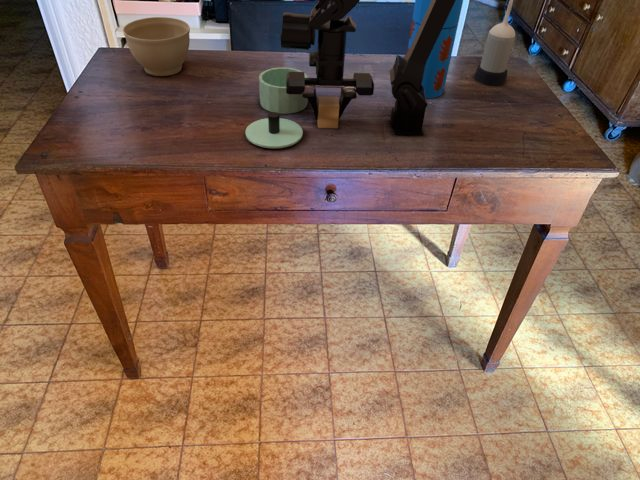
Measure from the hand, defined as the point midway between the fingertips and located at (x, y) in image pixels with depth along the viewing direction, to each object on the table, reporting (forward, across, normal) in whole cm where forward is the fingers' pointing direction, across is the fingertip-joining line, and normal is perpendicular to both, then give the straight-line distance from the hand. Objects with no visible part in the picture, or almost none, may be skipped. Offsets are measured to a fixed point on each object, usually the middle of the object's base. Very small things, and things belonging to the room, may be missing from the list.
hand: (327, 119), depth 114 cm
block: (+1, 0, 0) cm, 1 cm away
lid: (0, +12, +6) cm, 13 cm away
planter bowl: (+1, +42, -28) cm, 50 cm away
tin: (+1, +10, -10) cm, 14 cm away
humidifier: (+1, -46, -26) cm, 53 cm away
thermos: (+1, -26, -19) cm, 32 cm away
